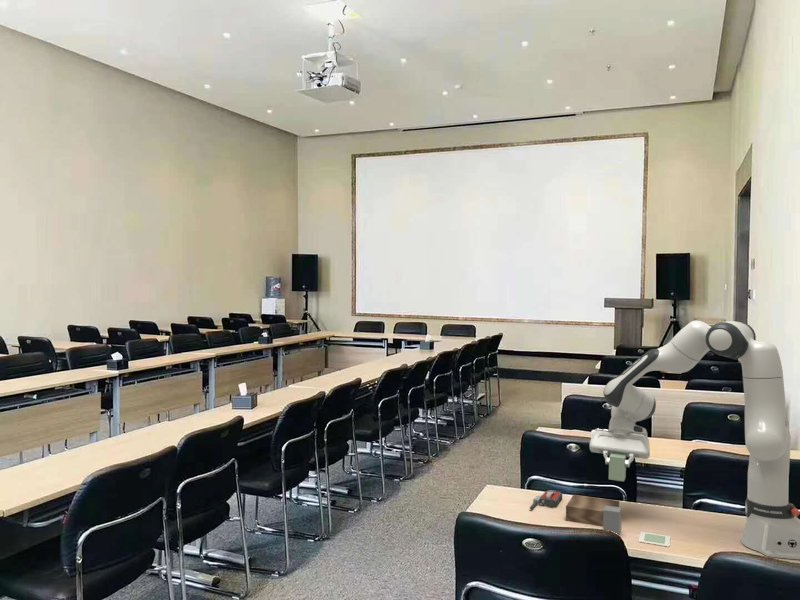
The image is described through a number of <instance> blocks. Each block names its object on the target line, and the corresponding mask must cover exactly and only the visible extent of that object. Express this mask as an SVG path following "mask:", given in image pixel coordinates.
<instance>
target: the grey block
mask: <svg viewBox="0 0 800 600" xmlns="http://www.w3.org/2000/svg"><path fill="white" fill-rule="evenodd" d="M602 528H603V529H604V530H609V531H613V532H615V533H617V534H618V535H620V536H621V533H622V507H620V506H619V507H613V506H605V508H604V510H603V526H602ZM603 529H602V530H603Z"/></svg>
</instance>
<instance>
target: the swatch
mask: <svg viewBox="0 0 800 600" xmlns="http://www.w3.org/2000/svg"><path fill="white" fill-rule="evenodd" d="M638 537H639V538H638V543H640V542H642V544H646V543H650V544H649V545H652V544H656V545H655V546H659V545H661V546H660V547H665V546H667V547H666V548H670V544H671V540H672V539H671V537H672V536H670V535H665V534H658V533H650V532H645V531H640V534H639V536H638Z"/></svg>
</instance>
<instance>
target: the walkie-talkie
mask: <svg viewBox="0 0 800 600" xmlns="http://www.w3.org/2000/svg"><path fill="white" fill-rule="evenodd" d="M562 501H563V493H562V492H561V491H557V490H551V489H549V490H546V491H545V492H544V493H542V494H541V495H536V496H535V498H533V500H532V504H531V505H530V506H529V509H530V510H533V509H534V507H535V506H539V507H540V506H541V507H545V508H546V507H547V508H553V509H557V508H558V506H559V505H560V503H561V502H562Z"/></svg>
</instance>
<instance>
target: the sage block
mask: <svg viewBox="0 0 800 600" xmlns="http://www.w3.org/2000/svg"><path fill="white" fill-rule="evenodd" d="M608 456H609V457H608V458H609V465H608V480H611V481H616V482H625V480H626V475H627V474H626V473H627V472H626V471H627V467H625V460H627V457H626V455H623V454H615V453H611V454H609V455H608Z"/></svg>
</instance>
